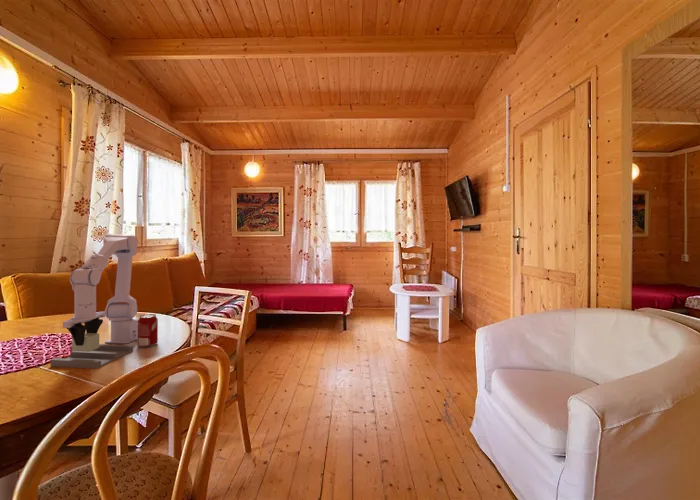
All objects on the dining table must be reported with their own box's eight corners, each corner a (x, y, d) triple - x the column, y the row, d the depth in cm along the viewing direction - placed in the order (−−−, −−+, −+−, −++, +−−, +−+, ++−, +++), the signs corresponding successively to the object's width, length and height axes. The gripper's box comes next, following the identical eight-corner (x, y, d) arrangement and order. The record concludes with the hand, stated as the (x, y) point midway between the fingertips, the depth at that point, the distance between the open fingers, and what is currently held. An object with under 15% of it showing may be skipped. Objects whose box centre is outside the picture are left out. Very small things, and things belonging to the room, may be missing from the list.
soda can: (147, 348, 123) (148, 318, 123) (133, 347, 124) (133, 316, 124) (161, 343, 130) (161, 314, 129) (147, 341, 131) (147, 313, 130)
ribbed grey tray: (132, 351, 120) (132, 345, 120) (97, 368, 104) (97, 362, 104) (91, 349, 121) (91, 343, 121) (50, 366, 105) (50, 359, 105)
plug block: (99, 347, 110) (99, 333, 110) (89, 351, 106) (89, 337, 106) (82, 346, 111) (82, 332, 110) (72, 350, 107) (72, 336, 106)
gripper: (92, 299, 115) (92, 335, 116) (53, 307, 101) (53, 349, 101) (111, 299, 115) (110, 336, 116) (74, 308, 101) (74, 350, 101)
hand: (85, 343), depth 108 cm, fingers closed on plug block, 4 cm apart
